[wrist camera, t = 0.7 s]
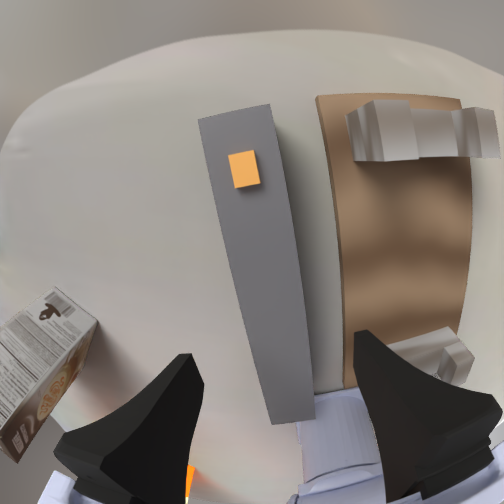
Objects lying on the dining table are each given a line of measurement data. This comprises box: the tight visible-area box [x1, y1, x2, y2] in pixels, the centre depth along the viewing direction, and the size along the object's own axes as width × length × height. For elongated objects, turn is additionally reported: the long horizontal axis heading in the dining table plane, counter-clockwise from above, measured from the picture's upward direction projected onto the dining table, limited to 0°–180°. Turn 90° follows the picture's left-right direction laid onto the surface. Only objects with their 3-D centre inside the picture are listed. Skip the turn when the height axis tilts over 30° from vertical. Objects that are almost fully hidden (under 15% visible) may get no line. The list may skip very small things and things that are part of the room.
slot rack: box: [315, 93, 501, 389], centre depth 15 cm, size 24×12×6 cm, turn 11°
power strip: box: [198, 104, 316, 425], centre depth 17 cm, size 22×4×6 cm, turn 11°
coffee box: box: [0, 287, 97, 463], centre depth 15 cm, size 9×6×16 cm
